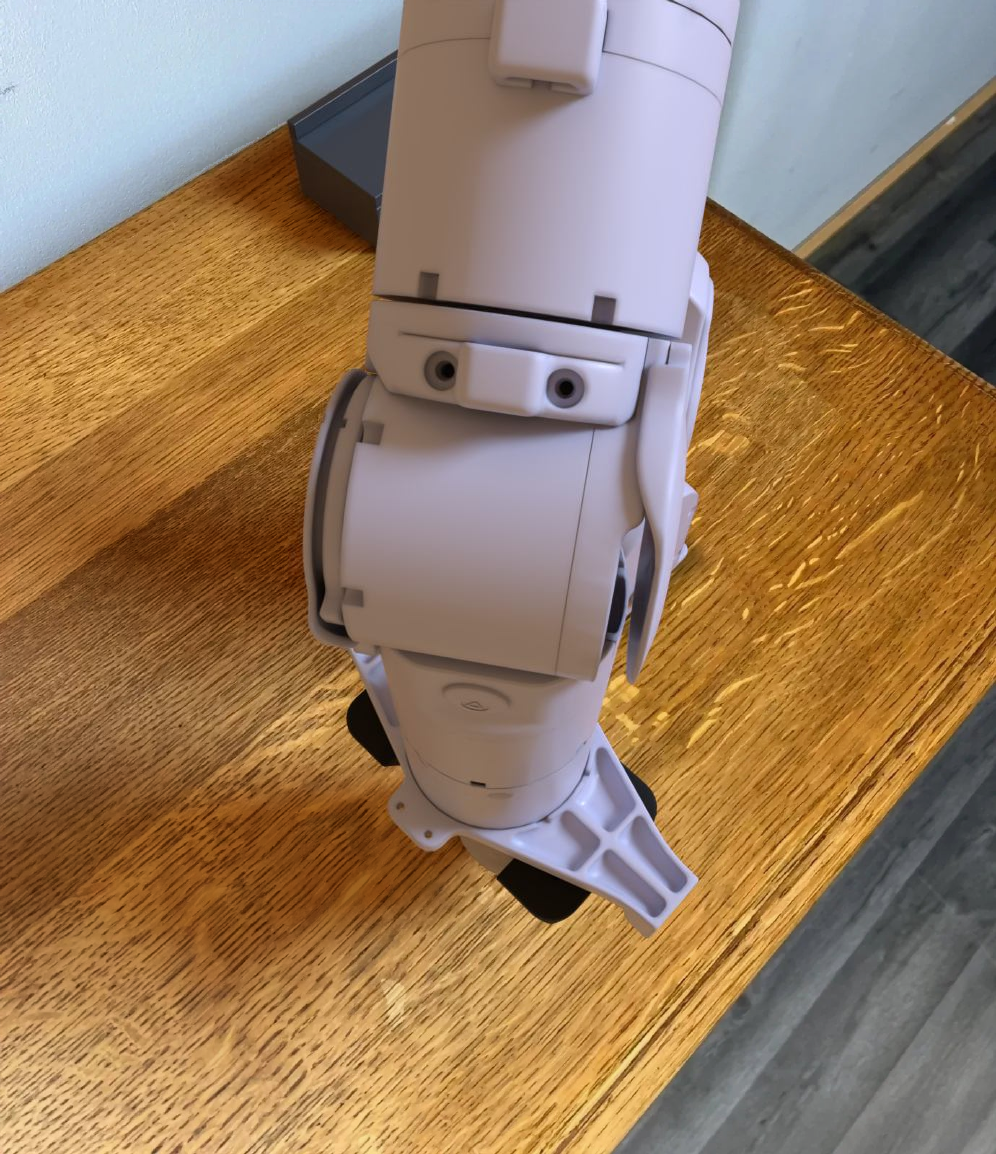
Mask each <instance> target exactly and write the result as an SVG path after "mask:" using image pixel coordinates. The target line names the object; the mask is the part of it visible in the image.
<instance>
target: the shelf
mask: <svg viewBox="0 0 996 1154" xmlns="http://www.w3.org/2000/svg"><path fill="white" fill-rule="evenodd" d="M397 56H398V48H397V49H396V50H394V51H393V52H391V53H389V54H388V55H387V56H385V57H383V58H382V59H380V60H378V61H377V62H376V63H374V64H373V65H371V66H369V67H368V68H366V69H365V70H363V71H361V72H360V73H359V74H357V75H355V76H354V77H352V78H351V79H349V80H347V81H346V82H344V83H343V84H341V85H339V86H338V87H337V88H335V89H334V90H332V91H330V92H329V93H327V94H325V95H324V96H322V97H321V98H319V99H318V100H316V101H315V102H313V103H312V104H310V105H308V106H307V107H306V108H304V109H302V110H301V111H300V112H297V113H296V114H295V115H293V116H291V117H290V118H289V119H287V120H286V122H287V128H288V132H289V137H290V142H291V146H292V151H293V155H294V156H293V157H294V161H295V165H296V169H297V175H298V180H299V184H300V189H301V192H302V194H304V195H305V196H306V197H307V198H309V199H310V200H312V201H313V202H314V203H316V204H317V205H318V206H319V207H321V208H322V209H323V210H325V211H326V212H327V213H328V214H330V215H331V216H333V217H334V218H336V219H337V220H338V221H339V222H340V223H342V224H343V225H344V226H346V227H347V228H349V229H350V230H351V231H352V232H354V234H357V235H358V236H359V237H360V238H362V239H363V240H365V241H366V242H367V243H368V244H370V245H371V246H372V247H374V248H375V250H376V249H377V240H378V231H379V222H380V212H381V203H382V194H383V185H384V176H385V167H386V158H387V148H388V139H389V130H390V121H391V112H392V103H393V93H394V84H395V75H396V66H397Z"/></svg>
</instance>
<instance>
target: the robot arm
mask: <svg viewBox="0 0 996 1154" xmlns="http://www.w3.org/2000/svg"><path fill="white" fill-rule="evenodd" d="M402 4H403V5H402V11H401V22H400V28H399V29H400V30H399V39H398V46H397V47H398V48H397V49H398V56H397V66H396V75H395V84H394V93H393V103H392V112H391V121H390V130H389V139H388V148H387V158H386V167H385V176H384V185H383V194H382V203H381V212H380V222H379V231H378V240H377V249H376V248H375V258H374V259H375V260H374V269H373V279H372V288H371V296H372V297H377V298H378V299H373V300H371V301H370V304H369V313H368V321H367V322H368V323H367V331H366V339H365V340H366V341H365V343H366V344H365V345H366V349H365V359H364V369H365V370H364V369H362V368H352V369H349V370H348V371H346V372H345V373H344V374H343V375H342V376H341V378H340V379H339V381H338V382H337V384H336V386H335V387H334V388H333V391H332V393H331V395H330V398H329V400H328V403H327V405H326V407H325V409H324V413H323V416H322V417H323V418H322V422H321V423H320V426H319V429H318V431H317V436H316V441H315V444H314V447H313V448H314V449H313V453H312V457H311V462H310V468H309V474H308V480H307V485H306V486H307V487H306V494H305V502H304V512H303V513H304V514H303V530H302V562H303V572H304V579H305V581H304V582H305V585H306V590H307V602H308V605H307V626H308V629H309V632H310V634H311V635H312V636H313V638H314V639H315V641H317V642H318V643H319V644H321V645H324V646H330V647H335V648H341V649H342V650H343V651H344V652H345V651H346V652H348V654H349V656H350V658H351V660H352V662H353V664H354V666H355V668H356V670H357V673H358V675H359V678H360V679H361V682H362V684H363V686H364V689H363V690H362V691H361V692H360V693H359V694H358V695H357V696H356V697H354V699H353V700H352V701H351V702H350V704H349V706H348V708H347V711H346V715H345V721H346V727H347V730H348V732H349V734H350V736H352V738H353V739H354V740H355V741H356V742H357V743H358V744H359V745H360V746H361V747H362V748H363V749H364V750H365V751H366V752H367V753H368V754H369V755H370V756H371V757H372V758H373V759H374V760H375V761H376V762H377V763H378V764H379V765H380V766H382V767H384V768H387V767H400V768H401V770H402V772H403V775H404V777H403V782H402V783H401V784H400V786H399V787H398V788H397V789H396V790H395V791H394V792H393V793H392V794H391V796H390V797H389V799H388V801H387V811H388V814H389V816H390V818H391V820H392V822H393V823H394V824H395V825H396V826H397V827H398V828H399V829H400V830H401V831H402V833H403V834H405V835H406V836H407V837H408V838H409V840H411V841H412V842H413V843H414V844H415V845H416V846H417V847H418V849H419V848H420V849H421V850H423V851H424V852H436V851H438V850H439V849H441V848H442V847H443V846H445V844H446V843H447V842H448V841H450V840H451V839H452V838H453V837H457V836H459V835H463V836H467V837H469V838H471V839H474V840H476V841H478V842H480V843H483V844H485V845H487V846H489V847H492V848H494V849H496V850H498V851H501V852H503V853H505V854H507V855H509V856H512V857H514V859H513V860H512V861H511V862H510V863H509V864H508V865H507V866H506V867H505V868H504V869H503V870H502V871H501V872H500V873H499V874H497V875H496V877H495V878H496V879H495V880H496V881H497V882H498V883H499V884H500V885H501V886H503V888H504V889H505V890H506V891H507V892H508V893H509V894H510V895H511V896H512V897H513V898H515V900H516V901H517V902H518V903H519V904H520V905H521V906H523V908H524V909H525V910H527V911H528V912H529V913H530V914H531V915H532V916H533V917H534V918H535V919H537V920H539V921H541V922H544V923H546V924H548V925H553V924H557V923H561V922H563V921H565V920H567V919H568V918H570V917H571V916H573V914H574V913H575V912H576V911H577V910H578V909H579V908H580V907H581V906H582V905H583V903H585V901H586V900H588V898H589V897H590V896H591V895H592V894H593V895H597V896H598V897H600V898H602V899H604V900H606V901H607V902H609V903H612V904H614V905H615V906H616V907H618V908H620V909H621V910H623V915H624V918H625V920H626V921H627V922H628V923H629V925H631V926H632V927H633V928H634V929H635V930H636V931H637V932H638V933H639V934H640V935H641V936H642V937H643V938H645V939H650V938H651V937H652V936H653V935H654V934H655V933H656V932H657V931H658V930H659V928H660V927H661V926H662V925H663V924H664V922H666V921H667V919H668V918H669V917H670V916H671V915H672V913H673V912H674V911H675V910H676V908H677V907H678V906H679V905H680V904H681V903H682V902H683V900H684V899H685V898H686V897H687V896H688V895H689V893H691V891H692V890H693V889H694V887H695V886H696V885H697V884H698V882H699V877H698V876H696V874H694V872H693V871H691V870H690V868H688V867H687V866H686V865H685V864H684V862H683V861H681V859H680V858H679V857H678V856H677V855H676V854H675V852H674V851H673V849H672V848H671V847H670V846H669V844H668V843H667V841H666V840H665V838H664V837H663V835H662V834H661V832H660V830H659V829H658V828H657V826H656V823H654V822H655V821H656V818H657V814H658V802H657V799H656V796H655V795H654V792H653V790H652V789H651V788H650V787H649V785H648V784H647V783H646V782H645V781H643V780H642V779H641V778H640V777H639V776H638V775H637V774H635V773H634V771H632V770H631V769H630V768H629V767H628V766H627V765H625V763H623V762H622V761H621V760H620V759H619V758H618V756H617V754H616V752H615V751H614V748H613V746H612V745H611V743H610V741H609V740H608V738H607V736H606V735H605V733H604V731H603V729H602V727H601V725H600V723H599V722H598V721H599V716H600V713H601V710H602V707H603V703H604V700H605V696H606V693H607V688H608V684H609V681H610V678H611V675H612V670H613V667H614V664H615V663H614V662H615V659H616V656H617V651H618V649H619V644H620V641H621V638H622V633H623V629H624V626H625V623H626V619H627V616H628V615H629V614H630V619H629V628H628V634H627V635H628V636H627V647H626V658H625V661H626V662H625V666H626V667H625V675H626V681H627V682H628V684H629V685H634V684H635V683H636V682H637V680H638V678H639V676H640V674H641V671H642V668H643V666H644V663H645V661H646V659H647V656H648V653H649V651H650V649H651V646H652V644H653V642H654V639H655V637H656V634H657V632H658V629H659V625H660V621H661V618H662V614H663V611H664V607H665V601H666V597H667V593H668V589H669V584H670V579H671V574H672V571H673V570H675V568H676V567H677V566H678V565H679V564H680V563H682V561H683V560H684V559H686V557H687V555H688V552H689V551H688V549H689V548H688V546H687V543H685V541H686V539H687V536H688V533H689V531H690V528H691V525H692V522H693V519H694V516H695V513H696V510H697V508H698V503H699V495H698V492H697V491H696V490H695V489H694V487H692V486H691V485H690V484H689V483H688V482H687V481H686V471H687V458H688V457H687V455H688V451H689V448H690V444H691V442H692V437H693V433H694V428H695V424H696V420H697V415H698V409H699V405H700V399H701V394H702V388H703V383H704V376H705V370H706V364H707V363H706V362H707V355H708V346H709V335H710V330H711V329H710V328H711V324H712V321H713V320H712V319H713V311H714V310H713V309H714V297H715V295H714V294H715V288H714V287H715V286H714V281H713V279H712V278H711V277H710V266H709V264H708V262H707V260H706V259H705V258H704V256H703V255H702V254H701V253H700V252H699V251H698V248H699V242H700V236H701V231H702V226H703V219H704V213H705V209H706V208H705V207H706V202H707V196H708V191H709V186H710V185H709V184H710V178H711V173H712V167H713V161H714V155H715V150H716V145H717V139H718V132H719V128H720V127H719V126H720V122H721V115H722V112H723V107H724V100H725V95H726V88H727V85H728V84H727V83H728V77H729V72H730V68H731V67H730V66H731V60H732V56H733V48H734V43H735V36H736V31H737V25H738V19H739V13H740V6H741V1H740V0H403V1H402ZM367 372H369V373H371V374H368V373H367ZM428 836H431V837H428Z"/></svg>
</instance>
